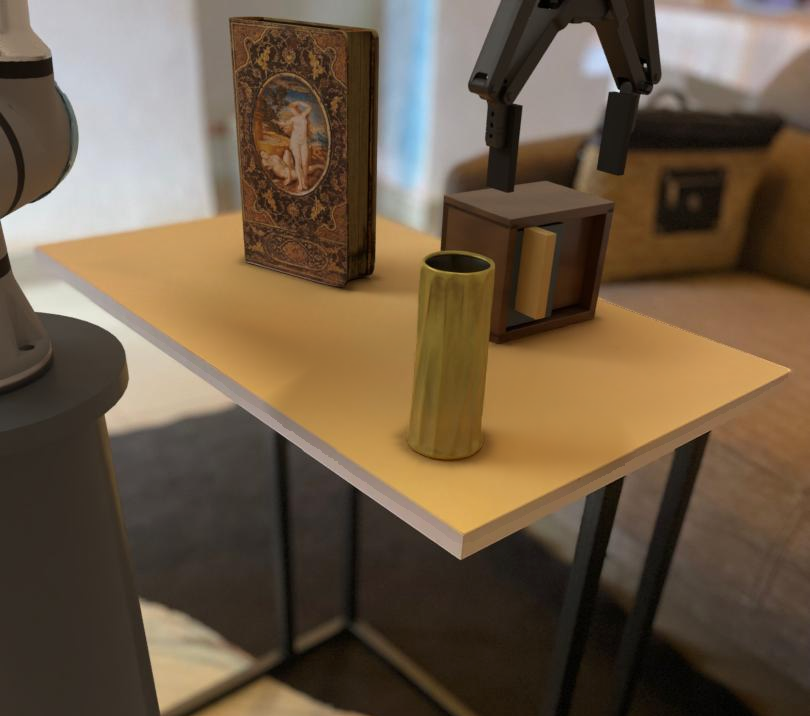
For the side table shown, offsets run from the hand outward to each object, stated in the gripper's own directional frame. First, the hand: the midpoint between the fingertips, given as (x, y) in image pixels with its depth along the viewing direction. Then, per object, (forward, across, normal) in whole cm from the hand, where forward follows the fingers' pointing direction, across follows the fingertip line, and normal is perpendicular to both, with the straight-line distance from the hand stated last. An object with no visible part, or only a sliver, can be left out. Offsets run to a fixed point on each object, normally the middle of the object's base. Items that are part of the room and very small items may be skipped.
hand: (557, 180), depth 74 cm
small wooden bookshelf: (+16, +4, +8) cm, 18 cm away
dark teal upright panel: (+14, +2, +2) cm, 14 cm away
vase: (+16, -20, -10) cm, 27 cm away
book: (+16, -8, +32) cm, 36 cm away
